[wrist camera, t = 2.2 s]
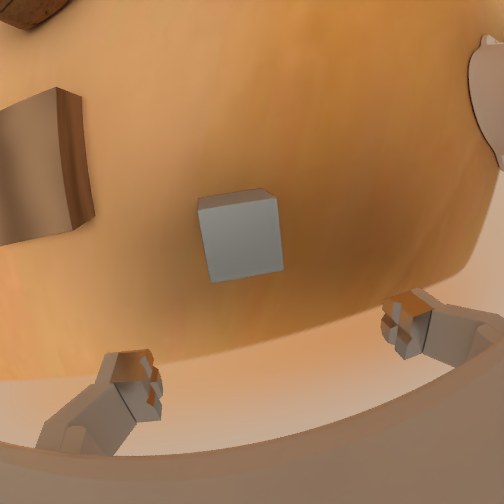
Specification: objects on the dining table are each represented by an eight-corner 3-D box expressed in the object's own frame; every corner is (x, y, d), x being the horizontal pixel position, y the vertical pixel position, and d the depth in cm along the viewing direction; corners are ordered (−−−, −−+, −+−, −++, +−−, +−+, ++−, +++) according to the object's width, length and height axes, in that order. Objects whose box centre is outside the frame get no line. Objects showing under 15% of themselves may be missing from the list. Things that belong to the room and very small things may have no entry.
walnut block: (82, 97, 18) (56, 87, 14) (96, 214, 22) (72, 230, 17) (-4, 130, 17) (-37, 131, 12) (10, 233, 21) (-20, 251, 16)
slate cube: (261, 188, 23) (276, 197, 18) (268, 247, 25) (283, 270, 20) (198, 198, 23) (197, 210, 18) (208, 257, 24) (211, 283, 20)
